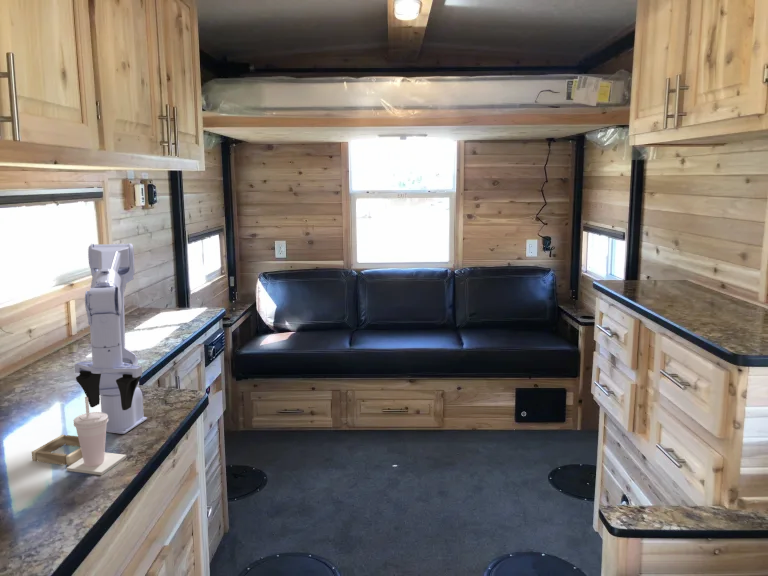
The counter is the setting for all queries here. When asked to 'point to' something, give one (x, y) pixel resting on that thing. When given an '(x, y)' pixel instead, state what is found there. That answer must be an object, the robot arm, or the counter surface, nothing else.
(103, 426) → the smoothie
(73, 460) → the collar
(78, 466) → the coaster pad
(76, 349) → the counter surface
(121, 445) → the counter surface
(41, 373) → the counter surface
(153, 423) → the counter surface
